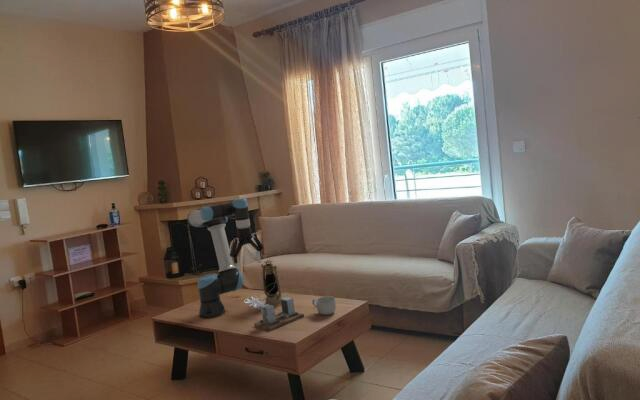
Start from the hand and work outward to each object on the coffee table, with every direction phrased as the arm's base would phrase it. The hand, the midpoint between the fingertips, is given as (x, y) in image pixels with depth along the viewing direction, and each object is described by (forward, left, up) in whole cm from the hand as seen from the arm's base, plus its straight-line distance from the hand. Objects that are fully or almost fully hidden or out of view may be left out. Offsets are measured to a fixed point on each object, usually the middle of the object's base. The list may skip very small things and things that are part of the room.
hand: (248, 265), depth 254 cm
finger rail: (+11, +7, -32) cm, 34 cm away
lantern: (-16, +24, -32) cm, 43 cm away
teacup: (+24, +29, -32) cm, 49 cm away
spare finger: (+11, +14, -30) cm, 35 cm away
